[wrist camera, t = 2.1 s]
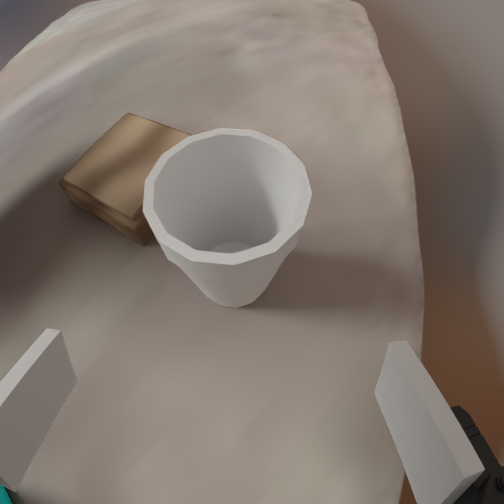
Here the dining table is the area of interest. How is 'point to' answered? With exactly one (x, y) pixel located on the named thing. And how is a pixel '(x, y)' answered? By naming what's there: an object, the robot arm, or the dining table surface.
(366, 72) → the dining table surface
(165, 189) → the foam cup
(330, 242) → the dining table surface
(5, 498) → the donuts
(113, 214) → the pedestal
